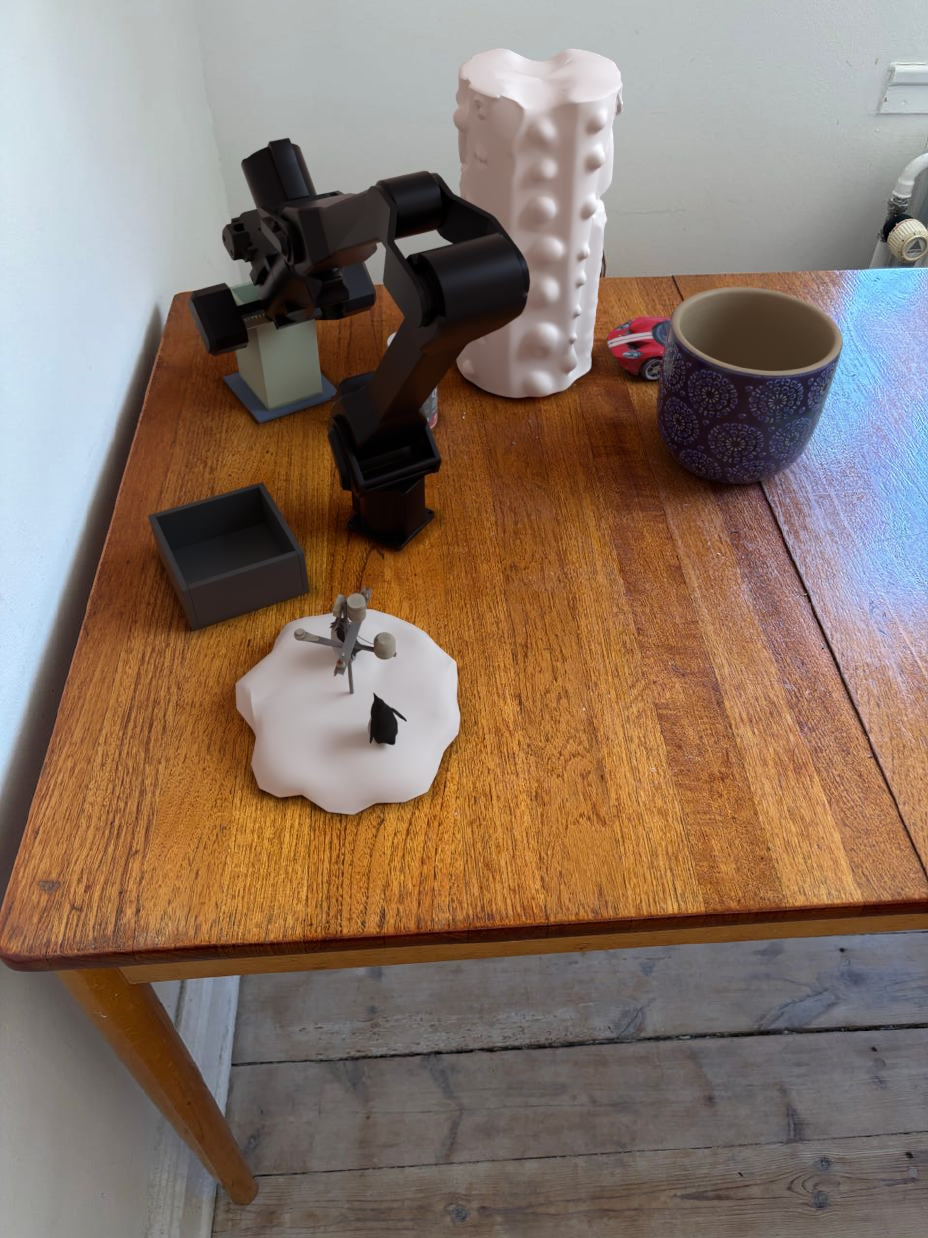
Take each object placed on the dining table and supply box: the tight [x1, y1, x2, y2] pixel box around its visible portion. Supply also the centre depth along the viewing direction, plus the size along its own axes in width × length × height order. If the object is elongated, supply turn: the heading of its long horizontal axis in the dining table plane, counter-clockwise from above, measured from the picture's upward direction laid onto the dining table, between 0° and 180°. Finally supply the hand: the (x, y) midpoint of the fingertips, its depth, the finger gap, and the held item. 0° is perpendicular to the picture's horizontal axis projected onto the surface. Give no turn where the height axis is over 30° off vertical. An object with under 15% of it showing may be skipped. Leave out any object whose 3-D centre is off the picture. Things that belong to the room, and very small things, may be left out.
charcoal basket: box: [147, 481, 311, 632], centre depth 92 cm, size 11×11×5 cm
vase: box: [452, 47, 625, 399], centre depth 108 cm, size 17×16×32 cm
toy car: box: [606, 316, 671, 381], centre depth 118 cm, size 10×22×5 cm, turn 93°
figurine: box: [235, 586, 461, 816], centre depth 77 cm, size 20×18×16 cm
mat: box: [222, 371, 337, 424], centre depth 115 cm, size 10×10×1 cm
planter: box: [655, 286, 844, 485], centre depth 102 cm, size 17×17×15 cm
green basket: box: [229, 280, 323, 411], centre depth 111 cm, size 8×7×11 cm
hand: (268, 326), depth 111 cm, fingers open, 9 cm apart
